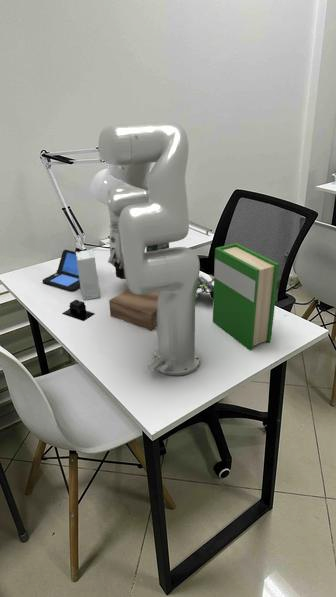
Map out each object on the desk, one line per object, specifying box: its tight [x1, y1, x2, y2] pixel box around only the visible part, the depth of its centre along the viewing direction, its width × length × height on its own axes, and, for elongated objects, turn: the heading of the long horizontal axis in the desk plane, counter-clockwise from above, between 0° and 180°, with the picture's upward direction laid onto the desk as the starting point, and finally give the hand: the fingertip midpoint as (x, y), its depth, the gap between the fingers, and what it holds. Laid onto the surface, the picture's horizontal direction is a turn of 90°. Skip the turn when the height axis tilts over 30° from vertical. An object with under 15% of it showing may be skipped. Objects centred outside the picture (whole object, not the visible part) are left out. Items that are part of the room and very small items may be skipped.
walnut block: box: [108, 288, 161, 332], centre depth 136 cm, size 16×16×6 cm
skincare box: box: [75, 249, 101, 301], centre depth 146 cm, size 8×6×15 cm
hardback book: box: [212, 242, 280, 352], centre depth 120 cm, size 18×7×24 cm, turn 29°
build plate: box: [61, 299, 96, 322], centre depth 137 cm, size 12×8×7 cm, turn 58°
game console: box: [42, 249, 81, 293], centre depth 157 cm, size 16×14×9 cm
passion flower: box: [195, 274, 214, 301], centre depth 141 cm, size 11×11×12 cm
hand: (125, 274), depth 150 cm, fingers closed on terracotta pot, 5 cm apart
